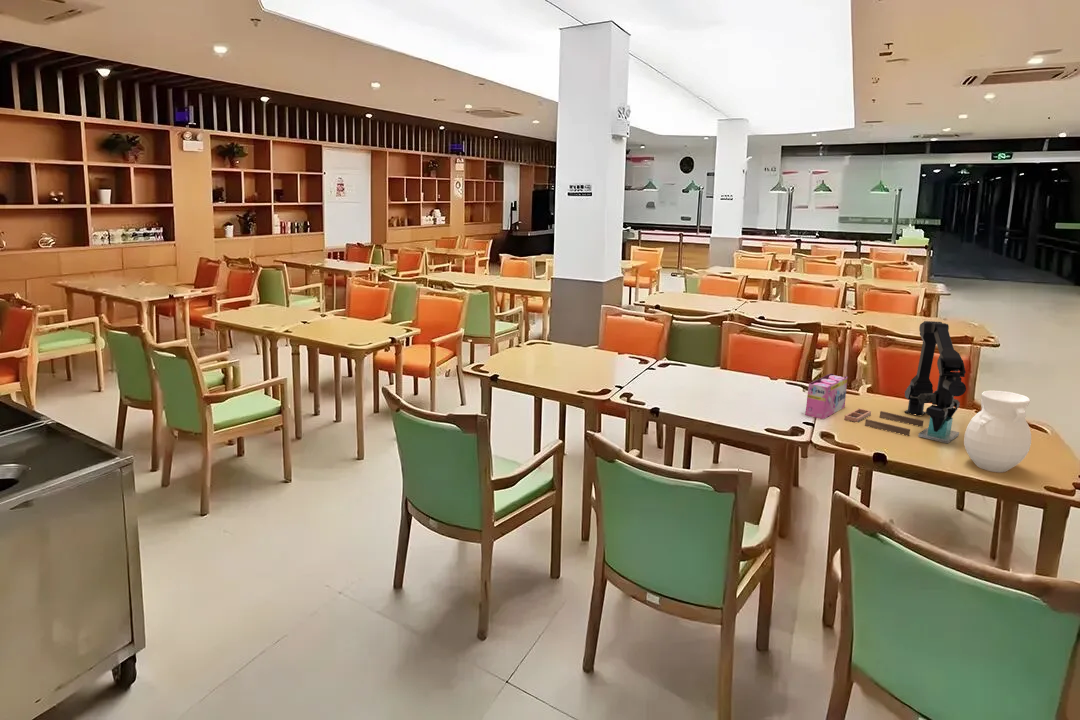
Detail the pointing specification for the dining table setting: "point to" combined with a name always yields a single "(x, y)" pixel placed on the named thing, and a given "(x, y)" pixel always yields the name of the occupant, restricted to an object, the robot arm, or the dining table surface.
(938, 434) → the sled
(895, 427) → the walnut channel
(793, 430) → the dining table surface
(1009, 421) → the white vase
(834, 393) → the gum box
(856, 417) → the tray
